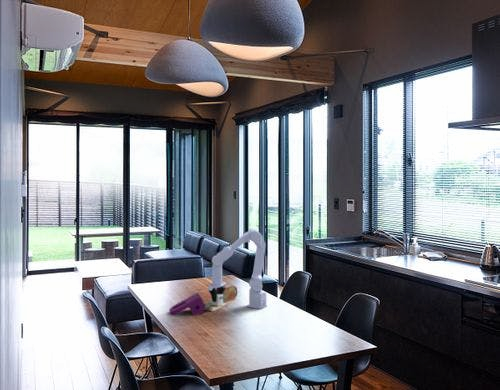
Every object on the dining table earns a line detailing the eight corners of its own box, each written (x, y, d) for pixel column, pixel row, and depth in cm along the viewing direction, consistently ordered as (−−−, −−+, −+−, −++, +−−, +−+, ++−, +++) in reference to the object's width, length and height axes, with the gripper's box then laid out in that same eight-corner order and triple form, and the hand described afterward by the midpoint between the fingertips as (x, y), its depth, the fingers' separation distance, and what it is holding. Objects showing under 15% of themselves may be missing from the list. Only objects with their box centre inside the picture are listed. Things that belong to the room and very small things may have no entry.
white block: (224, 304, 262) (224, 294, 262) (219, 306, 258) (219, 296, 258) (216, 302, 265) (216, 293, 265) (211, 304, 261) (211, 294, 261)
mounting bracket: (177, 326, 246) (207, 310, 250) (170, 313, 245) (200, 296, 249) (175, 321, 255) (204, 305, 259) (168, 308, 254) (197, 292, 258)
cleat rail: (227, 305, 267) (227, 300, 267) (212, 311, 255) (212, 305, 255) (218, 303, 270) (218, 298, 270) (203, 309, 258) (203, 303, 258)
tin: (221, 303, 272) (221, 289, 272) (217, 302, 274) (217, 288, 274) (237, 298, 284) (237, 284, 284) (233, 297, 286) (233, 284, 286)
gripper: (219, 274, 270) (219, 297, 270) (203, 278, 258) (203, 302, 258) (229, 275, 266) (228, 298, 266) (213, 279, 254) (213, 304, 254)
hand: (217, 300), depth 262 cm, fingers closed on white block, 4 cm apart
